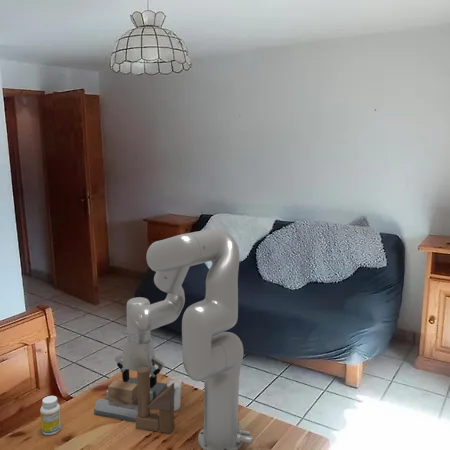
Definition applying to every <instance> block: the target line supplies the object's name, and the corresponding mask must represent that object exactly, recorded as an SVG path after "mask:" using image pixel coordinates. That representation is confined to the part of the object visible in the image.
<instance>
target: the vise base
mask: <svg viewBox="0 0 450 450" xmlns="http://www.w3.org/2000/svg"><path fill="white" fill-rule="evenodd" d="M127 382H129V383H134V384H137V377H136V378H135V377H130V376H129V380H128V381H127ZM167 384H168V383H164V382H160V381H157V383H156V385H154V387H153V388H150V391H153V399H155V398H156V397H157V396H158V395H159V394H161V393H162V392H163V391H164V390H165V389H167V388H168V387H167ZM153 399H152V400H153ZM152 400H151V401H152ZM150 403H151V402H150ZM94 404H95V405H94V406H95V407H94V410H93V415H95V416H96V415H97V416H102V417H106V418H112V419H117V420H122V421H125V422H132V423H136V416H137V415H138V405H133V404H128V403H122V402H117V401H112V400H108V399H107V398H106V397H105V398H100V397H99V398H98V399H97V400H96V401H95V403H94Z"/></svg>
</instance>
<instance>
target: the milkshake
mask: <svg viewBox="0 0 450 450" xmlns="http://www.w3.org/2000/svg"><path fill="white" fill-rule="evenodd" d="M183 382H184V381H183V380H182V381H180V380H179V379H170V380H169V381H168V382H167V383H166V384H167V388H168V387H169V386H170V385H171V384H173V383H174V412H175V411H176V412H177V411H178V410H180V408H181V397H182V386H183Z"/></svg>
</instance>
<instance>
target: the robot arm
mask: <svg viewBox="0 0 450 450" xmlns="http://www.w3.org/2000/svg"><path fill="white" fill-rule="evenodd" d="M145 260H146V264H147V265H148V267H149V269H151V270H152V271H153V272H155V273H154V277H153V283H154V285H155V287H156V288H158V289H159V290H160V291H162V292H164V293H166V297H165V299H164V300H160V301H157V302H154V303H151V302H150V300H149V299H148V298H146V297H141V296H139V297H132V298H129V300H127V302H126V330H125V329H124V330H123V335H125V336H126V338H125V339H124V341H123V346H122V353H121V354H118V355H116V356H115V357H114V361H115V363H116V365H117V367H118V368H119V369H120V372H121V376H122V377H121V378H122V379H121V380H122V381H123V382H127V381H128V380H129V377H130V371H132V372H137V370H138V368H140V367H148V368H149V369H150V388H153V387H154V385H156V383H157V382H158V380H157V379H158V375H159V374H160V372H161V371H162V370H163V368H164V366H165V362H163V361H161V360H159V359H158V358H157V357H156V351H155V345H154V341H153V338H151V331H152V330H156V329H158V328H160V327H163V326H166V325H169V324H171V323H174V322H175V321H176V320H177V319H178V318H179V316H180V314H181V313H182V310H183V308H184V306H185V302H186V297H185V295H186V294H185V290H184V288H183V286H182V285H183V283H184V282H185V278H186V276H187V274H188V272H189V269H190V267H193V266H196V265H200V264H204V263H209V262H211V266H210V267H209V269H208V271H207V275H206V279H205V298H203V300H200V301H197V302H194V303H192V304H191V305H189V306H188V307H187V308H186V309H185V310H184V313H183V315H182V319H181V341H182V342H181V343H182V346H181V348H182V362H183V369H185V373H186V374H187V376H188V377H189V378H190V379H191V380H192V381H195V382H203V381H204V384H203V385H204V386H203V387H204V388H203V389H204V390H203V391H204V392H203V428H202V429H201V430H200V432H199V433H198V436H197V441H198V445H199V447H200V449H202V450H239V449H240V448H241V447H242V445H243V443H245V444H250V445H252V444H253V439H254V438H253V436H251V431H249V430H243V429H242V428H241V425H242V424H241V423H239V395H240V393H239V391H240V375H241V368H242V363H243V358H244V345H243V342H242V340H241V339H240V337H239V336H238V335H237V334H236V333H234V332H231V331H228V330H231V329H232V328H233V327H235V325H236V324H237V323H238V319H239V315H238V314H239V287H238V286H239V285H238V284H239V283H238V280H239V268H240V267H239V266H240V250H239V246H238V244H237V242H236V240H235V238H234V237H233V235H232V234H230V233H229V232H227V231H226V230H223V229H220V228H210V229H204V230H199V231H193V232H187V233H182V234H177V235H174V236H172V237H168V238H165V239H162V240H161V239H160V240H156V241H154V242H153V243H151V244H150V245H149V247H148V249H147V252H146V259H145ZM155 365H156V366H157V368H156V367H155Z"/></svg>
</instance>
